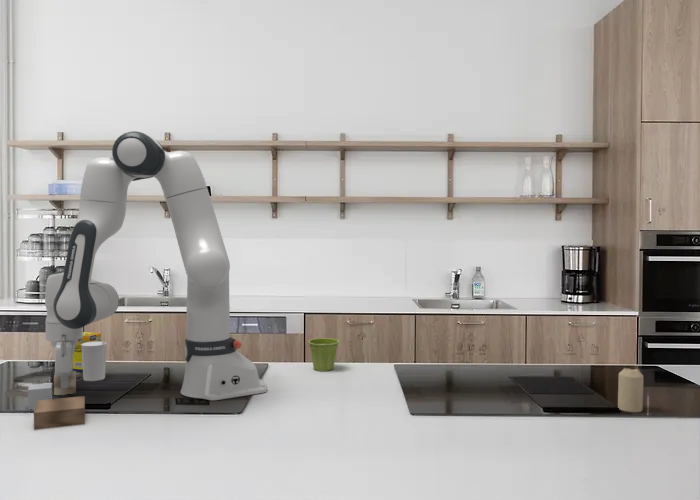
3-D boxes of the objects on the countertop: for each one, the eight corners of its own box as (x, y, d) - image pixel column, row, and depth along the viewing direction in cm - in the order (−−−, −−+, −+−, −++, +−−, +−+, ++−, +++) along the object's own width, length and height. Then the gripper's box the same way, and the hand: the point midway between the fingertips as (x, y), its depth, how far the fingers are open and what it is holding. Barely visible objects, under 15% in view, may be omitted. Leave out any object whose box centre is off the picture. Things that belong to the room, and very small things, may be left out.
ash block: (75, 389, 167) (75, 370, 166) (75, 394, 162) (75, 375, 162) (55, 391, 165) (54, 372, 165) (54, 396, 160) (53, 376, 160)
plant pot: (338, 373, 187) (338, 344, 186) (306, 372, 187) (307, 343, 187) (339, 365, 196) (339, 338, 196) (309, 365, 196) (309, 338, 196)
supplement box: (90, 372, 185) (89, 336, 184) (71, 371, 186) (71, 335, 186) (101, 368, 191) (101, 332, 190) (84, 367, 192) (83, 331, 191)
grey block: (52, 402, 155) (52, 382, 154) (51, 408, 150) (51, 387, 150) (30, 405, 153) (29, 384, 153) (28, 410, 148) (27, 389, 148)
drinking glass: (111, 377, 179) (111, 343, 179) (91, 382, 174) (90, 347, 173) (97, 374, 183) (96, 340, 182) (76, 379, 177) (76, 344, 177)
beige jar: (642, 407, 154) (643, 367, 153) (642, 414, 149) (643, 372, 148) (618, 404, 156) (619, 365, 156) (617, 410, 151) (618, 369, 151)
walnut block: (85, 412, 148) (84, 396, 148) (84, 425, 139) (84, 407, 138) (37, 417, 144) (37, 400, 144) (34, 431, 135) (33, 412, 135)
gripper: (76, 338, 154) (77, 393, 155) (78, 325, 173) (79, 374, 174) (48, 339, 152) (49, 396, 153) (53, 326, 171) (54, 376, 171)
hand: (65, 384), depth 163 cm, fingers closed on ash block, 5 cm apart
